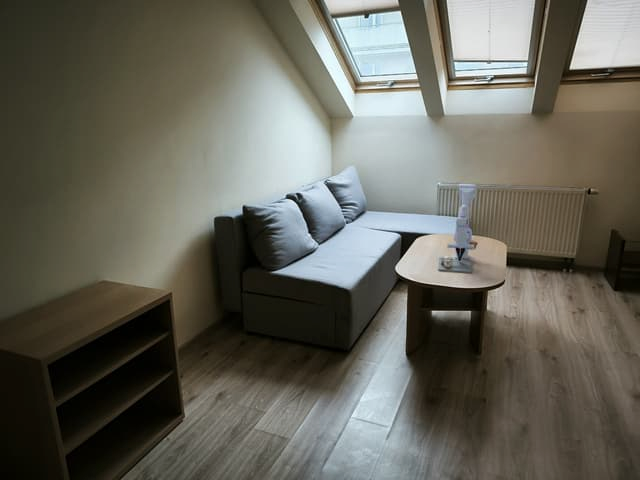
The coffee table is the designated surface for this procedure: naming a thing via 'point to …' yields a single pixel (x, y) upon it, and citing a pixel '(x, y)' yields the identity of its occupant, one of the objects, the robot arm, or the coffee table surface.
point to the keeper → (445, 259)
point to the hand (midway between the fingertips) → (459, 260)
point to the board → (457, 266)
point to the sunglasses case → (473, 243)
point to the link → (447, 262)
